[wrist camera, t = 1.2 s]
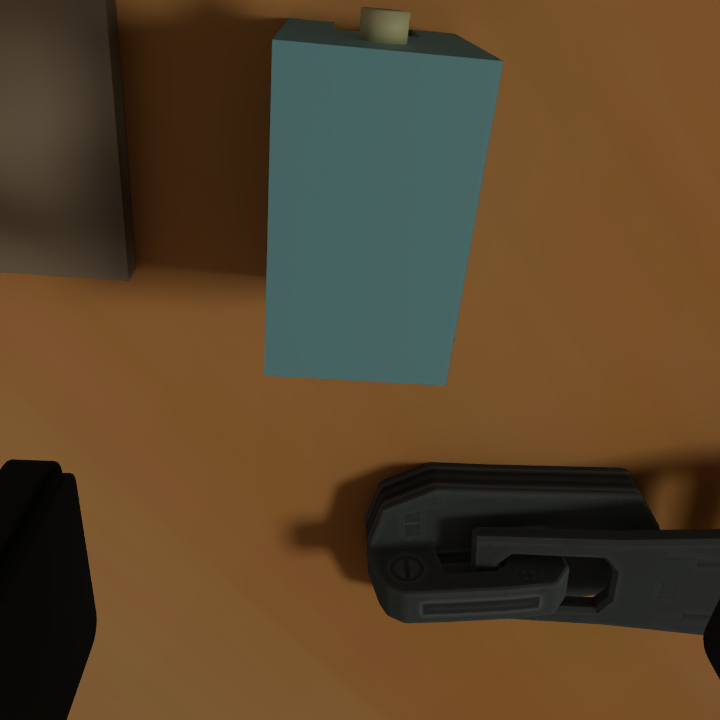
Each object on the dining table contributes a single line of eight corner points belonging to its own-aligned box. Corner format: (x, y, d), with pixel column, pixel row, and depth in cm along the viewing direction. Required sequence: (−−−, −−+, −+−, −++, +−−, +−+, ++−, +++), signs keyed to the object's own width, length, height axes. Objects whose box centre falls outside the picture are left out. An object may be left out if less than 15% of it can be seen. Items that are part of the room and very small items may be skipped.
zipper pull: (887, 664, 34) (375, 696, 33) (806, 562, 39) (369, 589, 39) (958, 528, 29) (368, 564, 29) (855, 435, 35) (361, 465, 35)
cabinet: (289, -8, 24) (273, 4, 17) (458, 9, 24) (509, 27, 18) (280, 278, 29) (264, 375, 22) (419, 287, 30) (445, 385, 23)
